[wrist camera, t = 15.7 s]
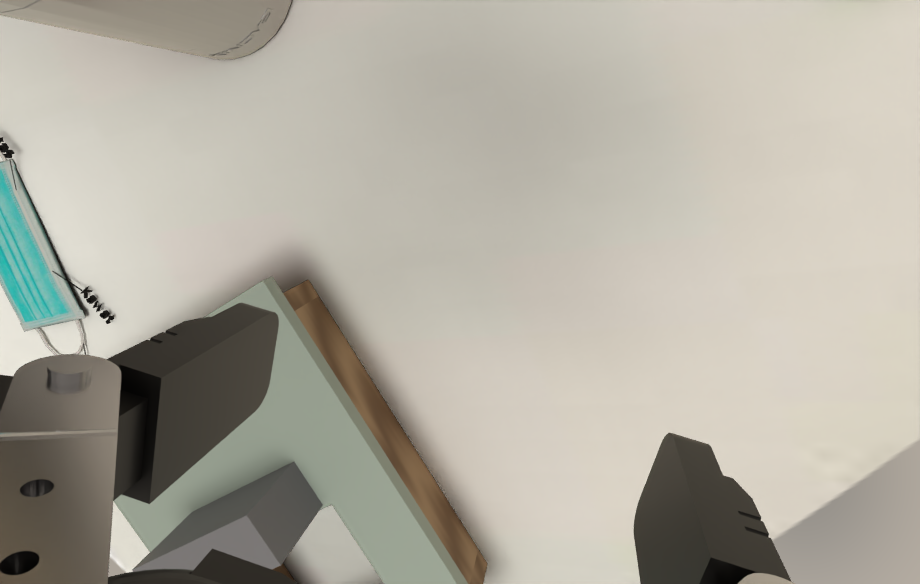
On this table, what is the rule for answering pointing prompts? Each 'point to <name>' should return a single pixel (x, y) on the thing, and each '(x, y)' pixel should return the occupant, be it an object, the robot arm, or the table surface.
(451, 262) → the table surface
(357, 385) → the wooden frame
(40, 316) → the surgical mask
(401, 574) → the lid
